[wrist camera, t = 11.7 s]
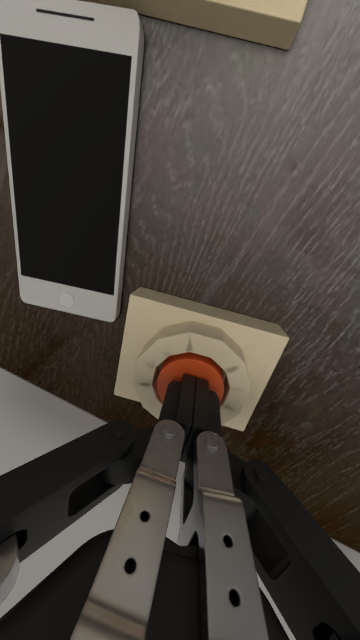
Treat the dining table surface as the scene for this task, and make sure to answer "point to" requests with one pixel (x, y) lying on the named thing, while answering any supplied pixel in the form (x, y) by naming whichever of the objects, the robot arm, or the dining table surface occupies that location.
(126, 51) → the smartphone
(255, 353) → the block
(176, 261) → the dining table surface
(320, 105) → the dining table surface
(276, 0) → the beige lever base
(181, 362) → the button
